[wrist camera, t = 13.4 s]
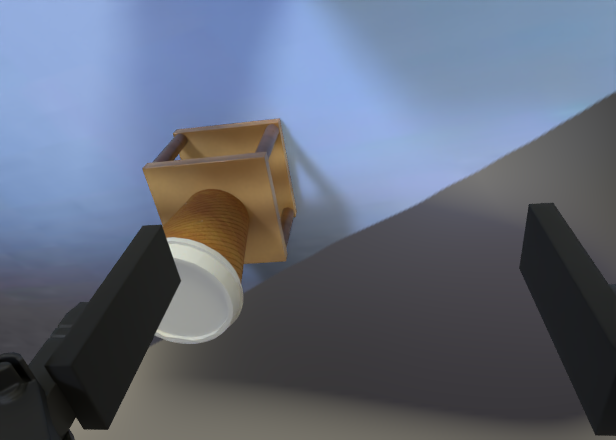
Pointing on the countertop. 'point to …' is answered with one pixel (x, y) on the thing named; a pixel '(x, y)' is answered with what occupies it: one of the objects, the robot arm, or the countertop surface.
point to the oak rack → (231, 179)
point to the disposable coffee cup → (206, 266)
